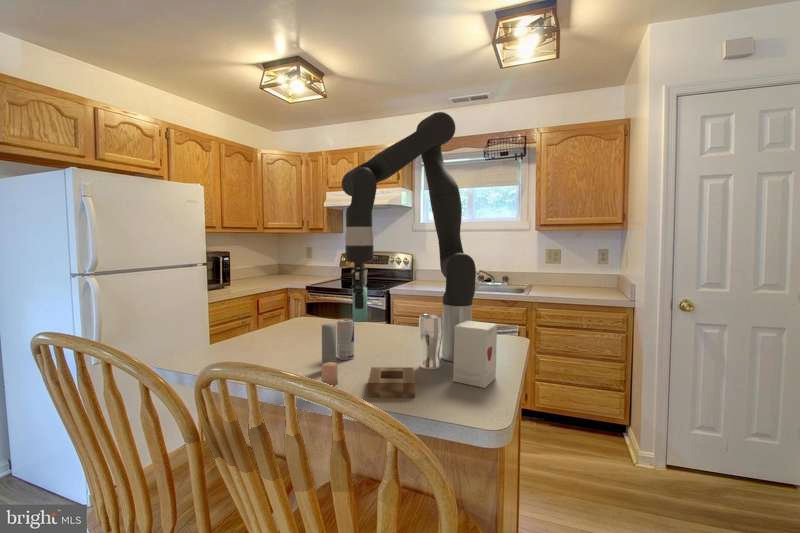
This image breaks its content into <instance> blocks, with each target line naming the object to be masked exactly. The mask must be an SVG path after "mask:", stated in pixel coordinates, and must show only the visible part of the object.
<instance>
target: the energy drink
mask: <svg viewBox="0 0 800 533" xmlns="http://www.w3.org/2000/svg"><path fill="white" fill-rule="evenodd" d="M354 358H355V322H354V321H353V318H340V319H337V322H336V359H338V360H339V361H350V360H353V359H354Z"/></svg>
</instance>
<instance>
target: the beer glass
mask: <svg viewBox="0 0 800 533" xmlns="http://www.w3.org/2000/svg"><path fill="white" fill-rule="evenodd" d="M442 331H443V328H442V315H441V314H436V313H423V314H420V315H419V320H418V340H419V345H420V346H419V347H420V352H421V357H420V363H419V367H420V368H421V369H424V370H429V371H431V370H438V369H441V360H440V350H441V347H442Z"/></svg>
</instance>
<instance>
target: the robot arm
mask: <svg viewBox="0 0 800 533" xmlns="http://www.w3.org/2000/svg"><path fill="white" fill-rule="evenodd" d="M455 133H456V123H455V121H454V118H453V117H452V115H450V114H449V113H447V112H445V111H438V112H434V113H432V114H430V115H428V116H427V117H426V118H424V119H422V120H421V121H419V122H418V124H417V126H416V130H415V131H414V132H413V133H410V135H408V136H406V137H404V138H403V139H400V140H399V141H397V142H395V143H393V144H391V145H389V146H388V147H386V148H384V149H383V150H381V151H380V152H378V153H376V154H375V155H374V156H373V157H372V158H370V159H369V160H367V161H366V162H364V163H362V164H359V165H358V166H356V167H354V168H352V169H350V170H349V171H347V173H345V174H344V176H343V177H342V180H341V188H342V190H343V192H344V193H345V194H346V195H348V196H350V197H351V201H350V204H349V205H348V206H347V207H346V211H345V212H346V213H345V223H346V224H345V238H344V239H345V240H344V241H345V245H344V246H345V261H346V262H348V263H353V265H354V266H353V268H351V275H352V288H353V293H354V295H355V308H356V309H363V307H364V304H363V295H364V287H367V283H368V278H367V277H368V268H366V263H371V262H373V261H374V260H375V259H374V232H373V208H374V204H375V198H376V195H377V184H378V183H380V182H383V181H385V180H388V179H389V178H391V177H392V176H394V175H395V174H396V173H398V172H399V171H401V170H402V169H403V168H405V167H407V165H409V164H410V163H412V162H413V161H415V159H418V157H419V156H421V160H422V162H423V166H424V172H425V177H426V183H427V188H428V189H427V190H428V193H429V201H430V206H431V211H432V216H433V221H434V227H435V232H436V236H437V240H438V248H439V263H440V264H439V266H440V271H441V274H442V275H443V277H444V278H445V291H444V294H442V313H441V314H442V315H441V316H442V328H443V331H442V341H441V358H442V359H443V360H444V361H446V362H447V361H448V362H451V363H452V362H453V363H454V328H455V326H456V325H458V324H460V323H463V322H465V321H467V320H468V321H473V299H474V297H475V292H476V275H477V274H476V273H477V272H476V270H477V269H476V263H475V260H474V259H473V257H471V255H469V254H467V253H465V252H464V248H463V243H462V238H461V226H462V218H463V217H462V216H463V214H462V213H463V211H462V200H461V195H460V190H459V189H460V188H459V185H458V184H457V182H456V180H455V179H454V177H453V175H452V174H451V173H450V171H449V170H448V169H447V167H446V164H445V162H444V157H443V153H442V146H443V145H445V144H447V143H449V141H450V140H452V139H453V137H454V135H455ZM356 287H361V289H356Z"/></svg>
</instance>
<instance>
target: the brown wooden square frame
mask: <svg viewBox="0 0 800 533" xmlns="http://www.w3.org/2000/svg"><path fill="white" fill-rule="evenodd" d="M367 380H368V381H367V398H416V390H415V389H416V382H415V372H414V367H410V366H409V367H403V366H402V367H399V366H398V367H394V366H391V367H389V366H387V367H384V366H382V367H381V366H379V367H378V366H377V367H375V366H371V367H370V372H369V377H368V379H367Z"/></svg>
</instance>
